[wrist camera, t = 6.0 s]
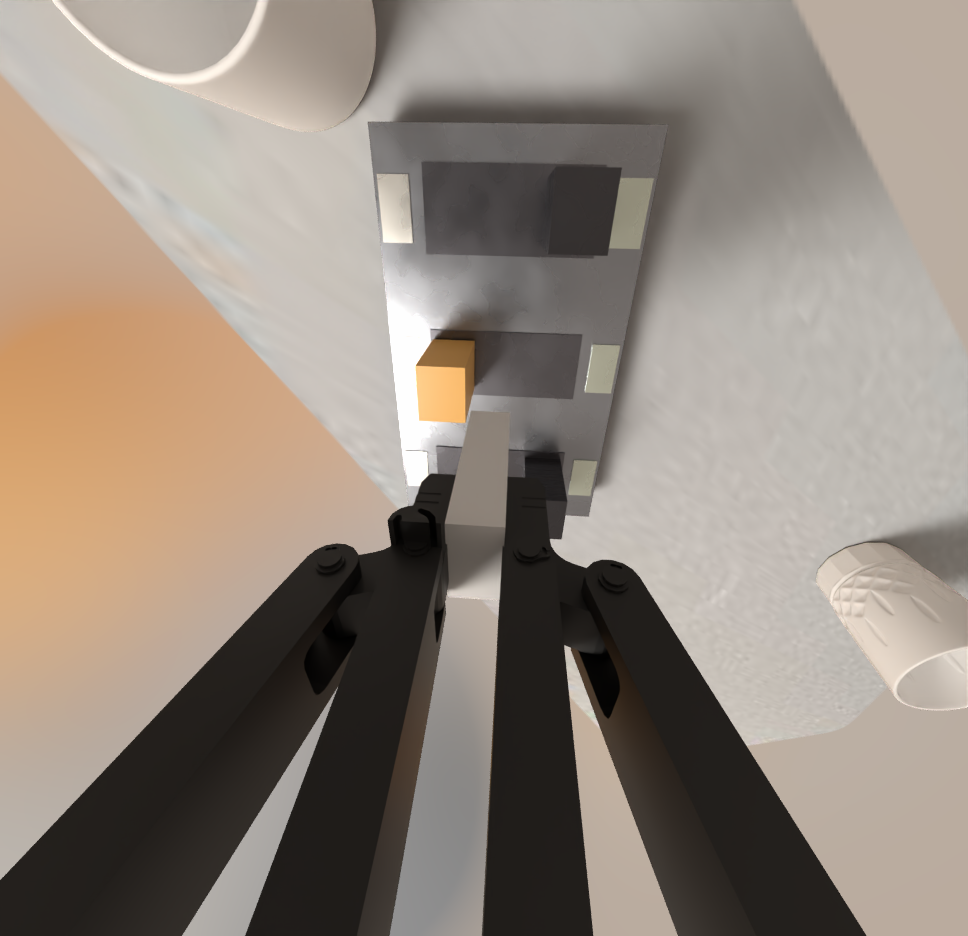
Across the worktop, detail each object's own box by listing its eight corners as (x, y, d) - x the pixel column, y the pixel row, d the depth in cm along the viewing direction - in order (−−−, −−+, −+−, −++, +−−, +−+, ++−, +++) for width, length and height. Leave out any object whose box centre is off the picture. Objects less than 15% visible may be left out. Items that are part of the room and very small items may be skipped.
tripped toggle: (433, 339, 24) (414, 365, 20) (474, 340, 24) (465, 368, 20) (435, 386, 26) (418, 420, 21) (474, 388, 25) (465, 423, 21)
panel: (385, 132, 22) (324, 95, 15) (650, 135, 21) (712, 97, 14) (416, 483, 34) (390, 550, 27) (583, 493, 33) (599, 564, 26)
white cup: (794, 598, 38) (873, 708, 29) (827, 535, 34) (929, 642, 25) (885, 600, 37) (993, 713, 29) (930, 535, 33) (1072, 646, 24)
